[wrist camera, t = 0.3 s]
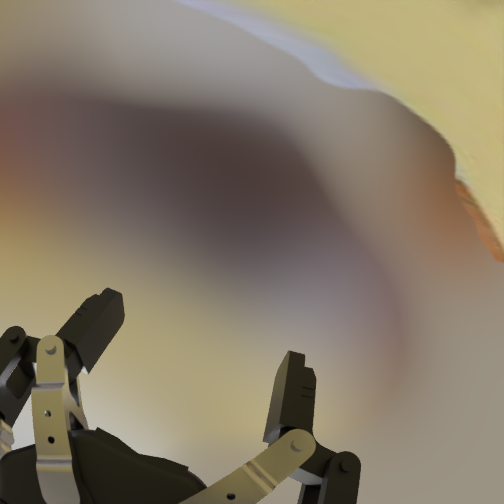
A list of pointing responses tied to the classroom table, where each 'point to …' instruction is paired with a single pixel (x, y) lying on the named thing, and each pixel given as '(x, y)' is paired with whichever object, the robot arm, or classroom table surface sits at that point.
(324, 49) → the classroom table surface
